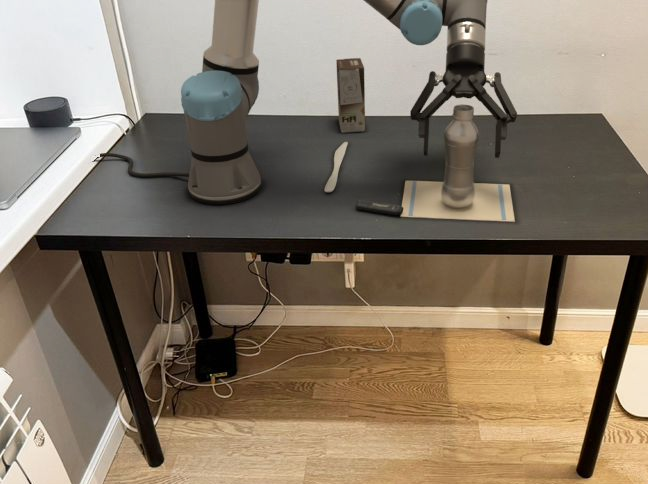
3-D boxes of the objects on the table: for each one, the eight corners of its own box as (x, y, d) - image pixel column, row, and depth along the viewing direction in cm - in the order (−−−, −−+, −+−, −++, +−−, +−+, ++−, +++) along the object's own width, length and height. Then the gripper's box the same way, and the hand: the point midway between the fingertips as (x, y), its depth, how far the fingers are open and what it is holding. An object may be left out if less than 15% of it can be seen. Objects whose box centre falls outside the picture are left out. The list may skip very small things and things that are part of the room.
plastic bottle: (473, 213, 127) (481, 114, 116) (438, 210, 128) (443, 113, 117) (474, 198, 132) (483, 102, 121) (441, 195, 133) (447, 101, 122)
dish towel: (400, 217, 127) (400, 216, 127) (405, 181, 140) (405, 180, 140) (514, 222, 124) (514, 221, 124) (509, 185, 137) (509, 184, 137)
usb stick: (354, 210, 129) (354, 203, 128) (359, 204, 131) (359, 197, 130) (399, 217, 126) (399, 210, 125) (404, 211, 128) (404, 204, 127)
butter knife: (319, 190, 135) (333, 190, 135) (339, 141, 158) (351, 141, 157) (319, 193, 136) (333, 193, 135) (339, 144, 158) (351, 143, 158)
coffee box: (366, 131, 164) (365, 68, 155) (340, 133, 163) (338, 69, 154) (362, 118, 171) (360, 57, 162) (337, 120, 171) (335, 58, 162)
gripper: (401, 41, 125) (395, 144, 121) (533, 42, 122) (531, 148, 118) (402, 61, 133) (396, 159, 128) (527, 62, 130) (525, 163, 126)
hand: (461, 154), depth 123 cm, fingers open, 13 cm apart
